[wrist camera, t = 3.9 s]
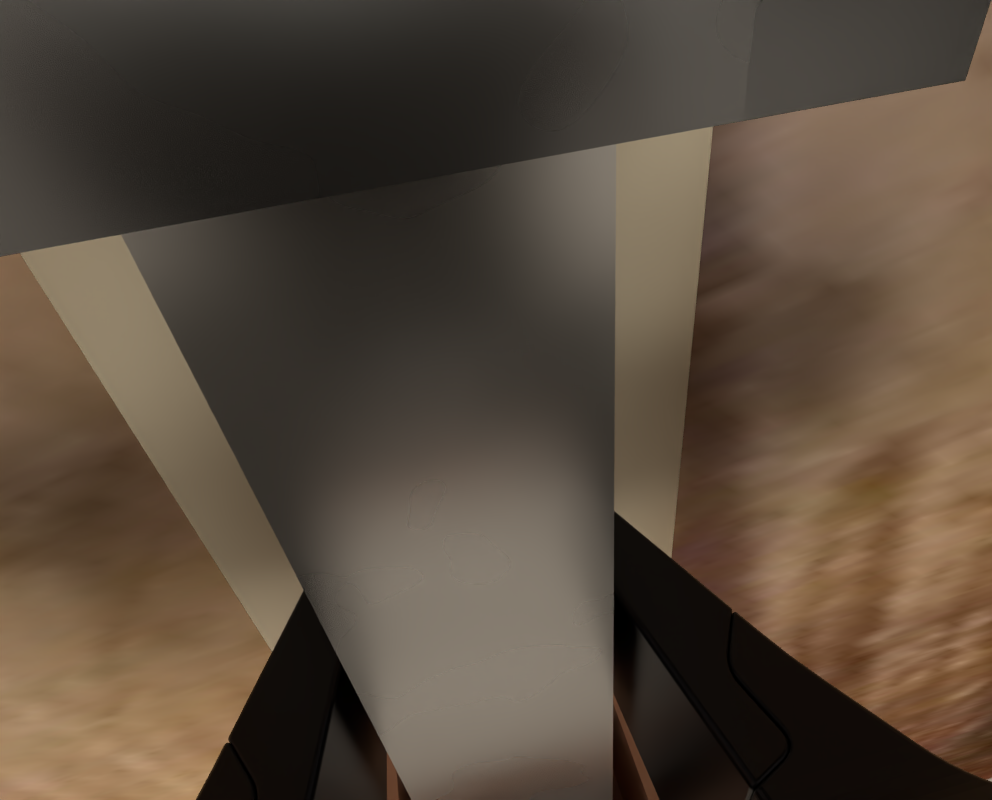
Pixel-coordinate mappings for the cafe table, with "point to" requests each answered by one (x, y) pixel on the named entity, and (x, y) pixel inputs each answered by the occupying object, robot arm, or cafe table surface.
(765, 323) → the cafe table surface
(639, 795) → the terracotta socket
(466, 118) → the grey sleeve
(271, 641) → the base board
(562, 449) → the silver rectangular bar
